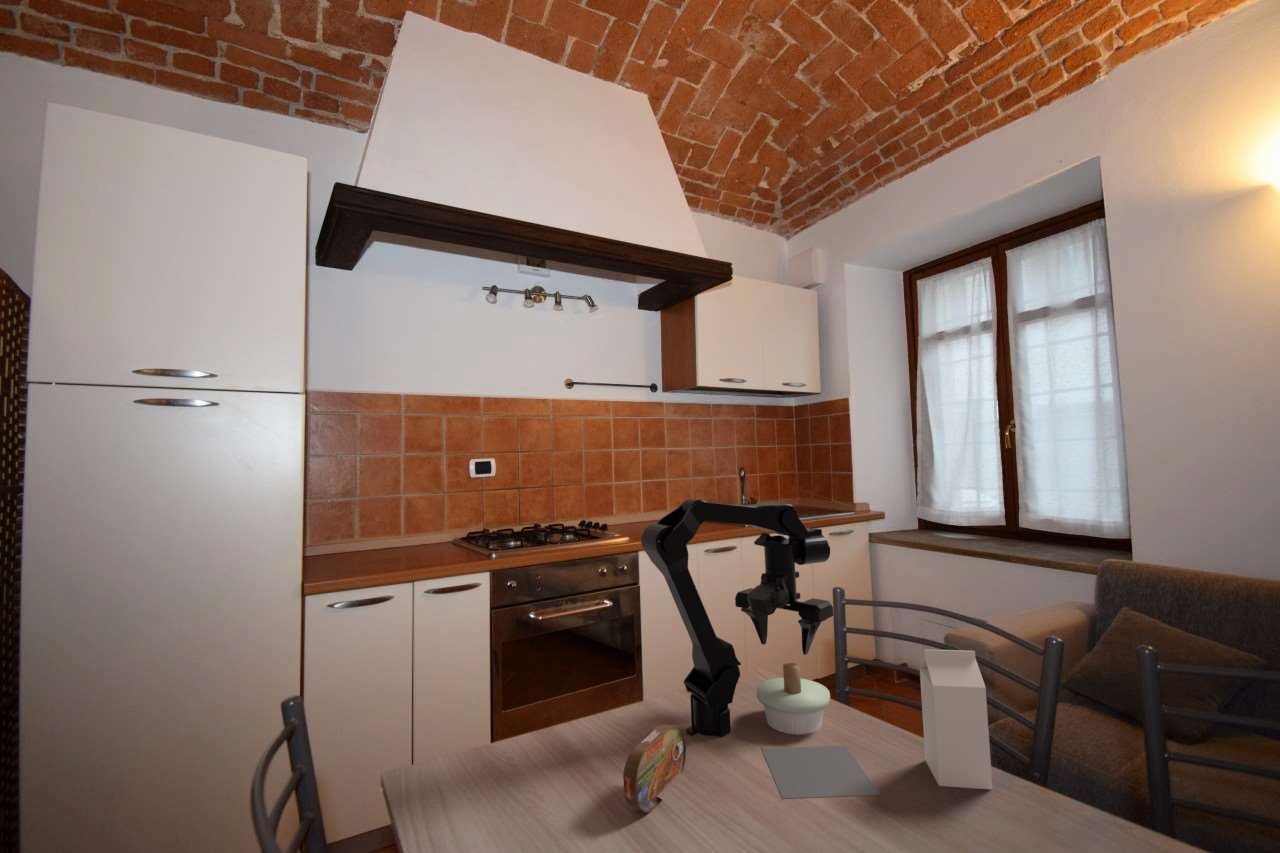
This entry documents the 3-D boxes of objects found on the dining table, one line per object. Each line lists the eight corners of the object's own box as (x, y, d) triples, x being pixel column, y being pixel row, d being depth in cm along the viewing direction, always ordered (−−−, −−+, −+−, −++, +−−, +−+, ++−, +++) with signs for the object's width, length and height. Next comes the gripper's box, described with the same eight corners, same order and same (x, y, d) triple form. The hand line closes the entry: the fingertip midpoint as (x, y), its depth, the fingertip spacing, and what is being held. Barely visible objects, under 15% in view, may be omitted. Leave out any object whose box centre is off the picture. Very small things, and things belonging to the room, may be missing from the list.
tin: (639, 825, 78) (637, 761, 79) (620, 818, 80) (618, 756, 80) (688, 771, 91) (686, 717, 92) (671, 767, 93) (669, 713, 93)
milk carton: (993, 795, 82) (983, 659, 83) (939, 791, 83) (931, 657, 85) (974, 768, 89) (966, 643, 90) (925, 765, 90) (917, 642, 92)
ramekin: (803, 748, 97) (801, 716, 97) (750, 727, 106) (749, 697, 106) (838, 726, 104) (836, 696, 105) (786, 708, 113) (784, 680, 113)
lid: (742, 698, 106) (741, 667, 106) (781, 678, 115) (780, 649, 115) (806, 720, 96) (804, 685, 96) (843, 696, 105) (841, 664, 105)
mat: (782, 804, 82) (782, 798, 82) (761, 753, 96) (761, 748, 96) (880, 800, 82) (880, 794, 82) (845, 750, 96) (845, 745, 96)
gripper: (716, 568, 113) (719, 649, 112) (801, 580, 100) (806, 672, 99) (749, 560, 121) (753, 635, 120) (832, 570, 108) (837, 655, 107)
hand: (784, 649), depth 111 cm, fingers open, 9 cm apart
